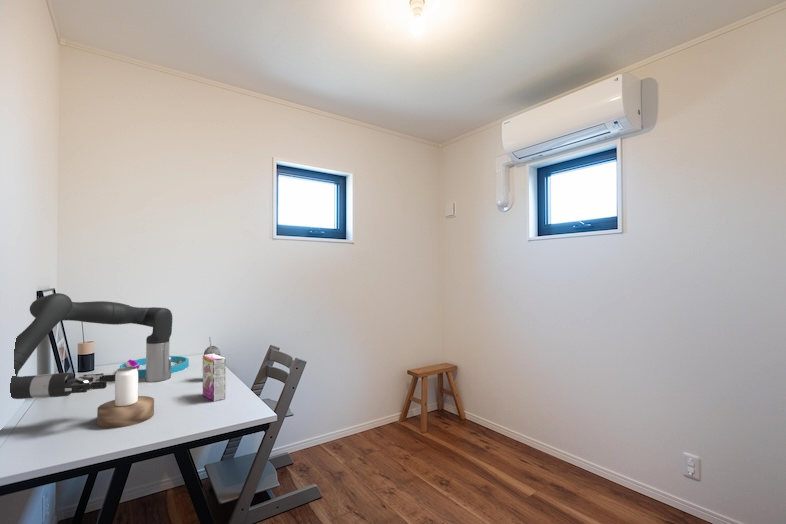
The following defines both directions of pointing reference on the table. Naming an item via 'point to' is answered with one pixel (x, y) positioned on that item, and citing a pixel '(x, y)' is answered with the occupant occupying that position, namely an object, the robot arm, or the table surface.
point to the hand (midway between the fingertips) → (111, 381)
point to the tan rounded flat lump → (125, 413)
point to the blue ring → (179, 366)
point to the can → (126, 386)
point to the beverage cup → (212, 350)
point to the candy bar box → (214, 377)
